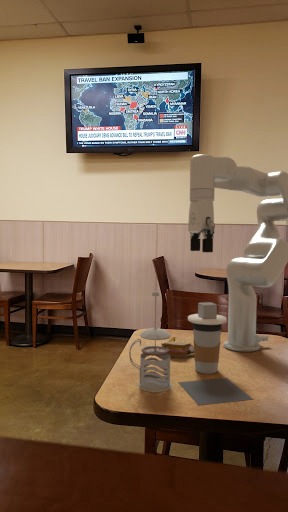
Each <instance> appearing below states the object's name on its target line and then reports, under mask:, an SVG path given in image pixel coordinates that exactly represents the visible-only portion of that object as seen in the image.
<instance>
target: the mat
mask: <svg viewBox="0 0 288 512" xmlns="http://www.w3.org/2000/svg"><path fill="white" fill-rule="evenodd" d="M178 384H179V385H180V387H181V388H183V390H185V392H186V393H187V394H188V396H189V397H190V398H191V399H192V400H193V401H194V402H195V404H197V406H205V405H215V404H225V403H226V404H227V403H232V402H242V401H243V402H244V401H251V400H254V398H253V397H251V396H250V395H249V394H248V393H247V392H245V391H244V390H243V389H242V388H241V387H239V386H238V385H236V384H235V383H234V382H233V381H231V380H230V379H229V378H228V377H221V378H220V377H219V378H210V379H200V380H199V379H198V380H188V381H178Z"/></svg>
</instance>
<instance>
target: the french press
mask: <svg viewBox="0 0 288 512" xmlns="http://www.w3.org/2000/svg"><path fill="white" fill-rule="evenodd" d="M151 296H153V297H154V303H155V304H154V327H151V328H147V329H145V330H143V331H141V332H140V333H139V336H140V337H141V338H142V339H143V340H144V339H145V340H148V341H154V345H149V346H144V347H143V348H141V352H142V353H141V354H140V365H138V364H137V363H136V362H135V361H133V358H132V356H131V355H132V353H131V351H132V348H133V346H134V345H135V344H137V343H139V346H140V347H142V339H140V338H138V339H136V340H134V341H133V342H132V343H131V345H130V347H129V351H128V353H129V354H128V355H129V356H128V357H129V361H130V363H131V365H132V366H133V367H135V368H136V369H138V370H139V381H138V383H137V386H138V388H139V389H140V390H142V391H145V392H152V393H161V392H166V391H168V390H170V389H171V388H172V387H173V385H172V383H171V356H170V355H169V354H167V353H168V352H169V350H168V348H164V347H162V346H159V345H156V344H157V343H156V342H157V341H164V340H169V339H171V336H172V334H171V333H170V332H169V331H167V330H166V329H162V328H158V327H157V326H156V325H157V321H156V320H157V297H159V296H160V292H159V291H157V290H155V291H153V292H152V293H151ZM149 356H151V357H149ZM153 356H155V357H153ZM147 357H148V358H147ZM158 358H159V359H158ZM150 365H152V366H150ZM157 367H158V368H157ZM160 369H161V370H160ZM150 370H151V371H150ZM161 374H162V375H161Z"/></svg>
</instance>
